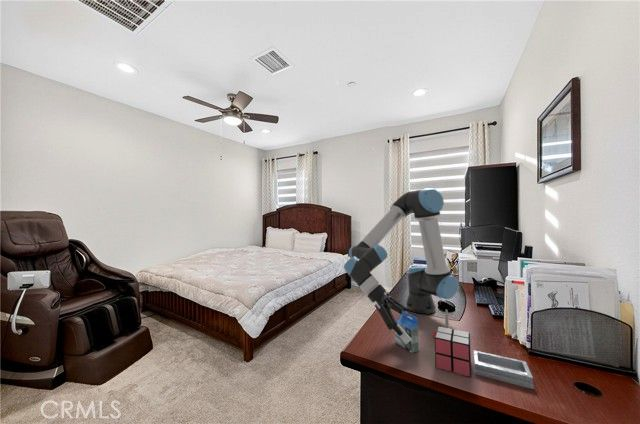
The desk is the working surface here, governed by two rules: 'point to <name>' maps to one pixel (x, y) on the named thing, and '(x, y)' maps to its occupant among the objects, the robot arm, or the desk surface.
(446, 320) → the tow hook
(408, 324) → the label tape box
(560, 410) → the desk surface
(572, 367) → the desk surface
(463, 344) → the puzzle cube
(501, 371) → the rail tray
